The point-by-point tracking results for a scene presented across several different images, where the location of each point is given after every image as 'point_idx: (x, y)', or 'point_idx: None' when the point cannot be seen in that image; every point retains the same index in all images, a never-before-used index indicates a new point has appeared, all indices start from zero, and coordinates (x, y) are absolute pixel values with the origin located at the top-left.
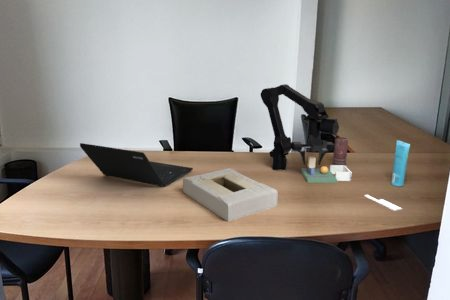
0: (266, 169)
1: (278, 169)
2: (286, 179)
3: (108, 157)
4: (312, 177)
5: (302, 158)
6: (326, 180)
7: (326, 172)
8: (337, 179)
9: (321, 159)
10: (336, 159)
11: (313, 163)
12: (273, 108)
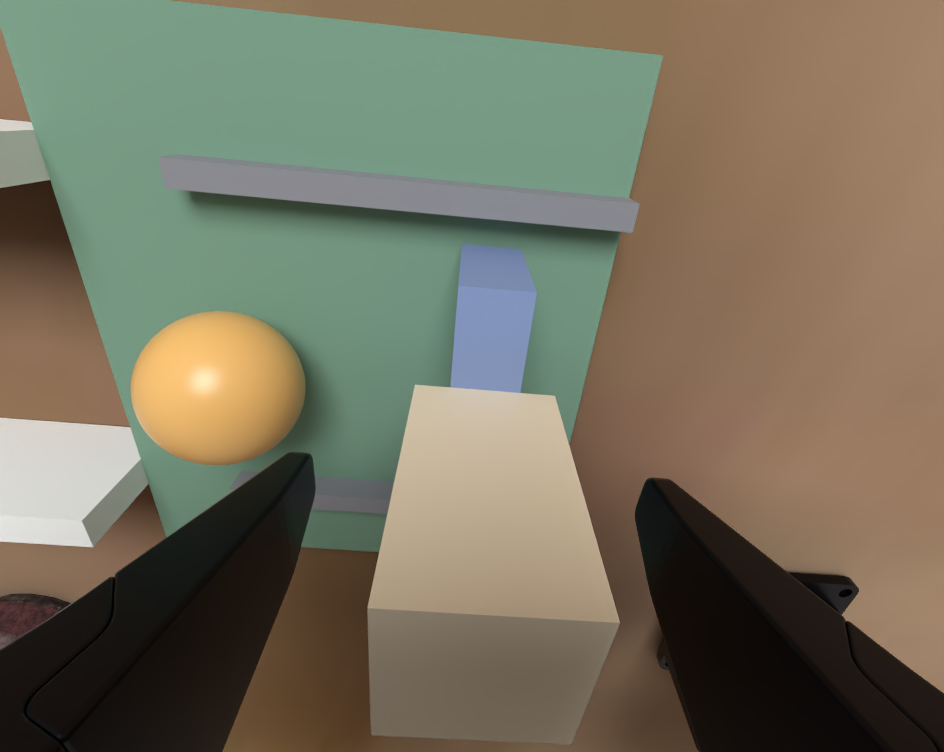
0: (903, 593)
1: (793, 576)
2: (907, 266)
3: None
4: (514, 177)
5: (816, 624)
6: (250, 12)
7: (195, 315)
8: (25, 124)
9: (170, 545)
10: None
11: (456, 453)
12: None
